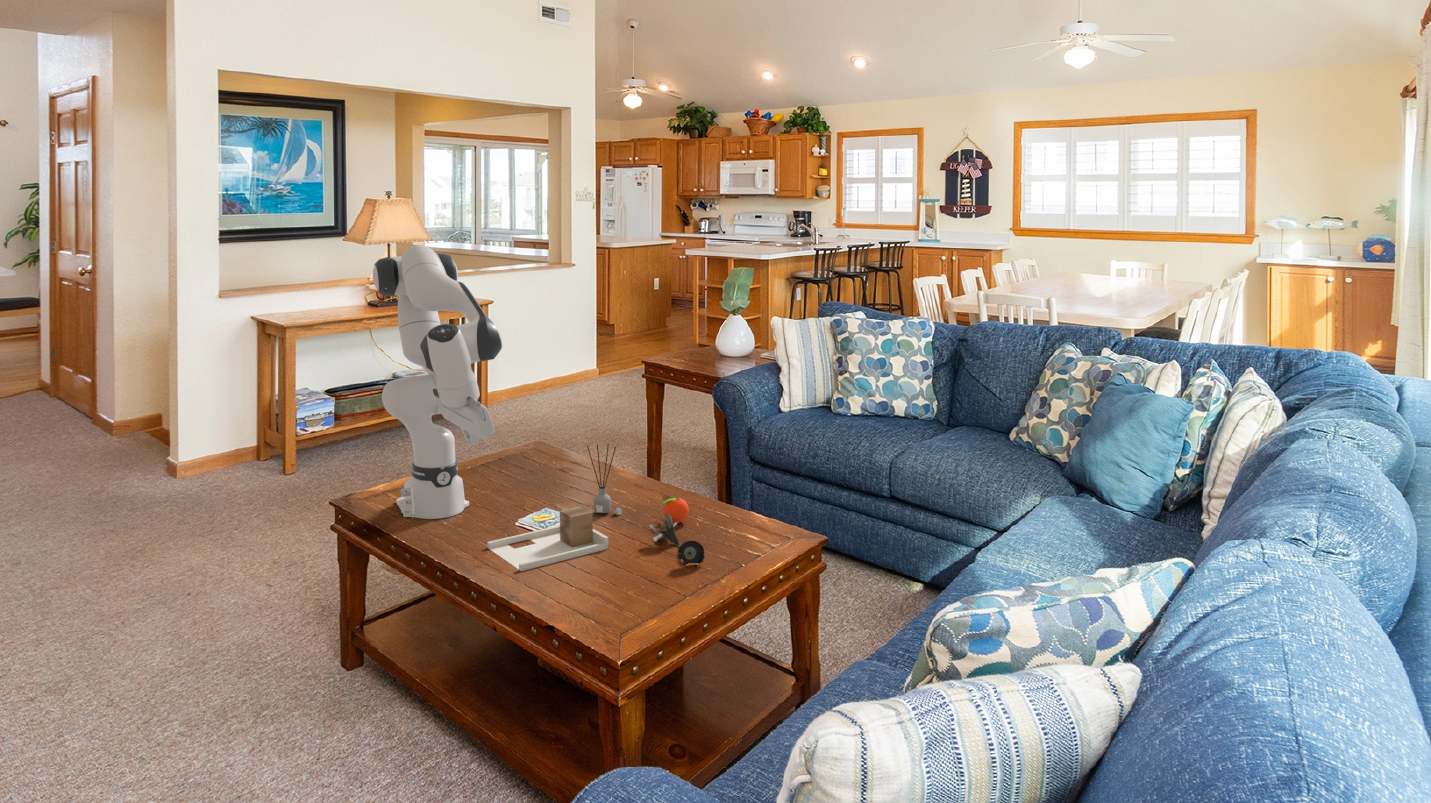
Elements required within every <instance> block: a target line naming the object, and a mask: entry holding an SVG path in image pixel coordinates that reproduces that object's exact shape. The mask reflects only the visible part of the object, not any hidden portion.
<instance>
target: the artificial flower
mask: <svg viewBox="0 0 1431 803" xmlns="http://www.w3.org/2000/svg"><path fill="white" fill-rule="evenodd" d="M665 515H666V516H665ZM664 518H665V521H666V522H665V521H660V527H661V528H655V526H654V525H652V524H649V526H648V527H649V528H650V529H652V531H653V532H654V533H655V534H658V535H656V536H654V537H653V538H652V539H653V541H654V542H655V543H656V542H658V541H659V540H660V539H661V538H666V539H667V540H668V541H669V542H670V543H672V544H674V545H675V546H677V545H680V546H678V549H677V554H676V555H677V558H678V560H682V562H681V564H682V565H683V566H684V567H685V565H686V564H688V563H699V565H700V564H701V563H703V562H704V560H705V550H704V546H703V545H702V544H701V543H700V542H699V541H696V540H687V541H683V543H681V544H680V543H679V540H678V536H677V535H676V532H675V527H676V526H677V525H678V523H676V522H675V523H673V522H672V517H671V516H670V515H669V514H664ZM676 544H677V545H676Z"/></svg>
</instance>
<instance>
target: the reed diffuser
mask: <svg viewBox="0 0 1431 803" xmlns="http://www.w3.org/2000/svg"><path fill="white" fill-rule="evenodd" d="M609 445H610V444H609V443H607V446H606V447H607V448H606V457H605V465H604V466H605V467H604V474H603V482H602V476H601V475H602V473H601V465H600V464H601V463H600V453H599V444H597V443H596V449H597V462H598V470H599V471H598V472H599V479H598V476H597V472H596V468H595V466H594V465H595V464H594V462H593V458H592V455H591V452H590V449H589V445H586V447H587V451H588V453H589V457H590V461H591V465H592V467H593V470H594V473H595V478H596V481H597V483H598V493H597V495H595V496H594V498H593V508H594V509H593V510H594V512H595V513H597V514H607V513H610V512H611V510H612V509H611V508H612V507H611V506H612V505H611V502H612V498H611V497H610V495H609V494H607V492H606V491H607V490H606V488H607V487H606V486H607V482H608V478H609V474H610V471H611V467H612V463H613V459H614V456H615V452H616V449H617V446H614V450H613V454H612V457H611V459H610V464H609V468H608V472H607V475H606V471H607V461H608V454H609ZM605 477H606V478H605ZM602 483H603V484H602ZM622 512H623V510H622V508H621V507H616V508H614V510H613V514H614V515H616V516H620V515H622V514H623V513H622Z"/></svg>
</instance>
